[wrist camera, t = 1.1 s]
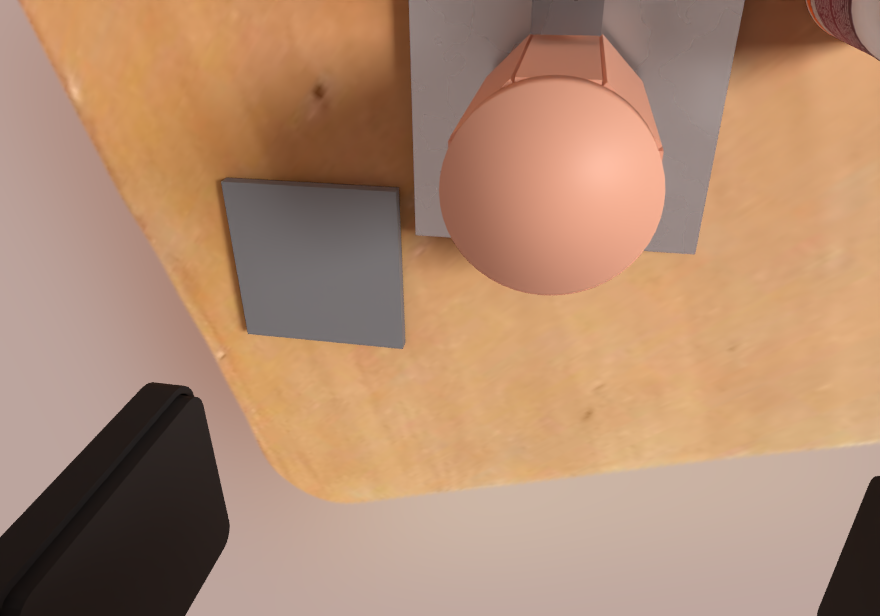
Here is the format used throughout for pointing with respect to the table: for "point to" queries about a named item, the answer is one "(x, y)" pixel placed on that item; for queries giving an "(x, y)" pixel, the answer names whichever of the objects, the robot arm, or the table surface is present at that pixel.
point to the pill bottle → (850, 22)
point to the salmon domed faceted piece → (555, 168)
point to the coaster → (318, 260)
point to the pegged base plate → (590, 14)
